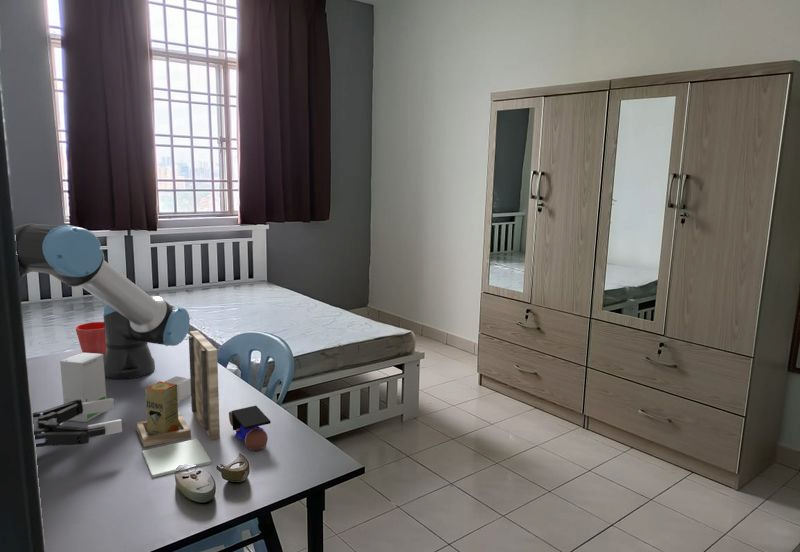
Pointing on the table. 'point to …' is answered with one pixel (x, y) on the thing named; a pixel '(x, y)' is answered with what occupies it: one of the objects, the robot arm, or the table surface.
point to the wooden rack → (195, 394)
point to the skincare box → (83, 381)
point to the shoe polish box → (161, 408)
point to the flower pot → (92, 337)
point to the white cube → (181, 386)
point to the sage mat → (175, 457)
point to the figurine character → (250, 426)
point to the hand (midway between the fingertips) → (117, 414)
